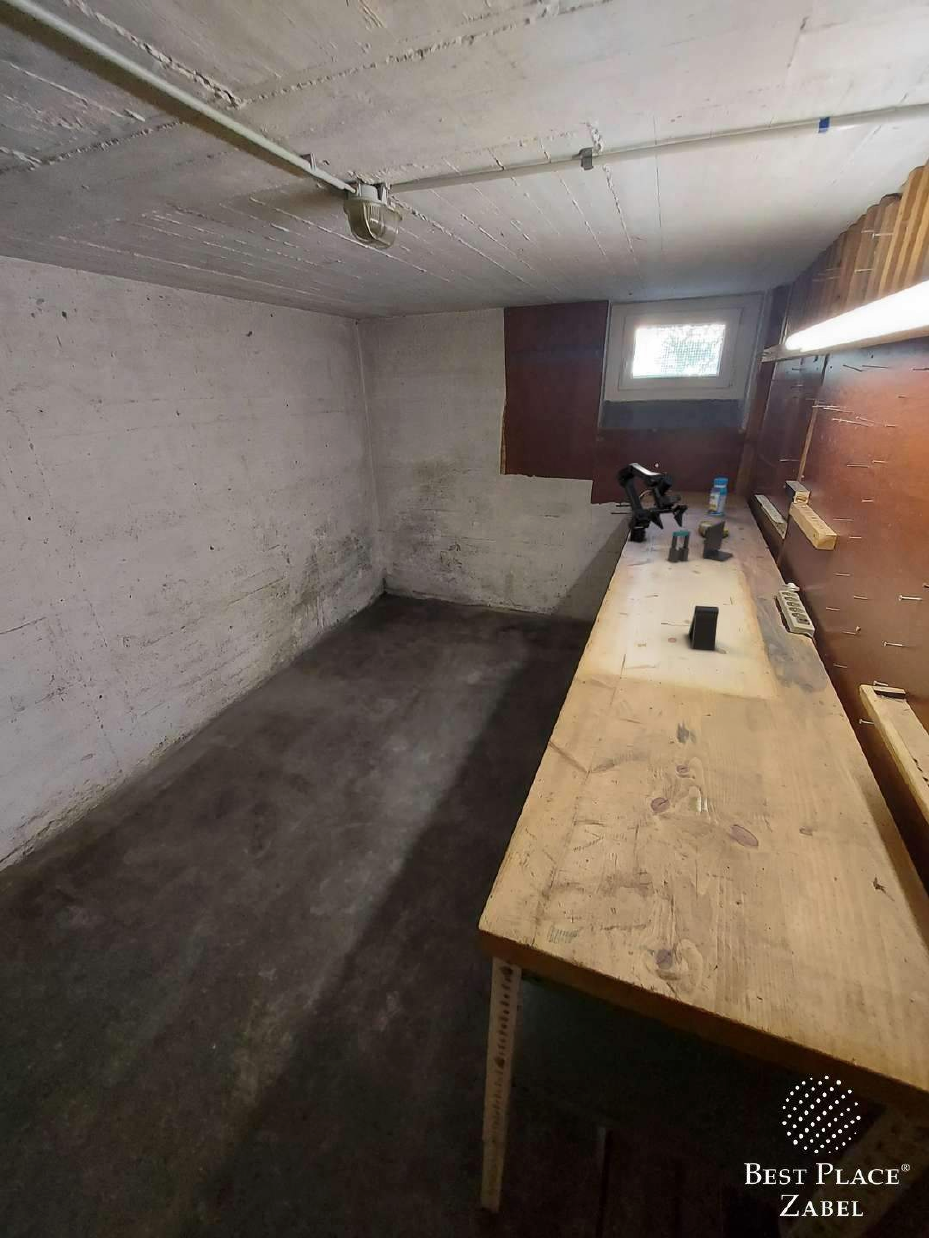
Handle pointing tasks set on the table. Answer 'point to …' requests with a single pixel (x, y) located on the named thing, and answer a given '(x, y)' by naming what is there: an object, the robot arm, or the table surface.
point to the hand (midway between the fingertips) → (671, 527)
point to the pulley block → (704, 530)
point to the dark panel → (715, 542)
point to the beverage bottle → (718, 497)
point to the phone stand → (703, 627)
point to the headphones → (683, 551)
